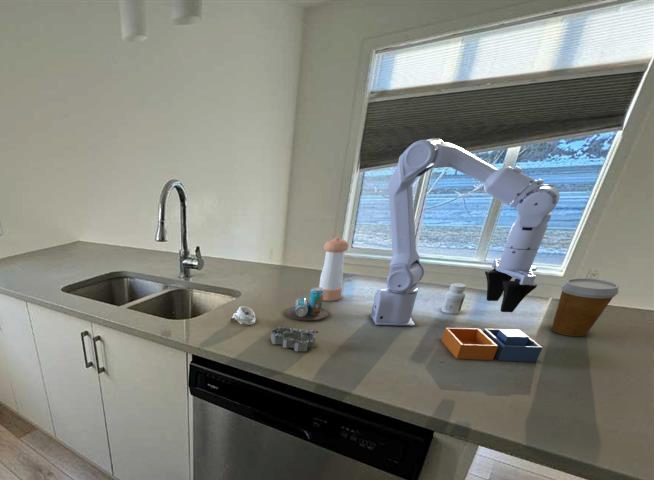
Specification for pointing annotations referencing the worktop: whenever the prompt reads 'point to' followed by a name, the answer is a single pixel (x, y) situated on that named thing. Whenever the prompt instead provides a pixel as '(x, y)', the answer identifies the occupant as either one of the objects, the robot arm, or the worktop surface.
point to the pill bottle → (454, 299)
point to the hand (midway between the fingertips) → (499, 305)
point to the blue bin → (514, 348)
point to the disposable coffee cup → (582, 305)
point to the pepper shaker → (333, 269)
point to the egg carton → (294, 338)
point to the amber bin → (469, 343)
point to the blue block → (512, 337)
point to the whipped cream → (244, 315)
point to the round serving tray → (309, 307)
